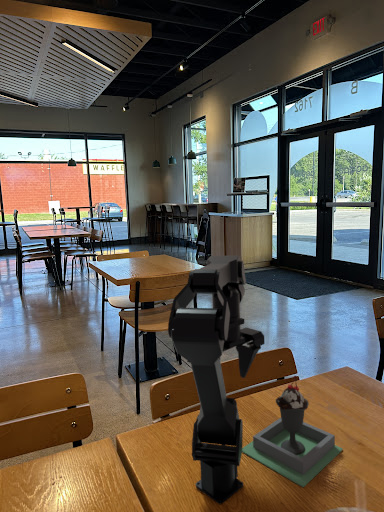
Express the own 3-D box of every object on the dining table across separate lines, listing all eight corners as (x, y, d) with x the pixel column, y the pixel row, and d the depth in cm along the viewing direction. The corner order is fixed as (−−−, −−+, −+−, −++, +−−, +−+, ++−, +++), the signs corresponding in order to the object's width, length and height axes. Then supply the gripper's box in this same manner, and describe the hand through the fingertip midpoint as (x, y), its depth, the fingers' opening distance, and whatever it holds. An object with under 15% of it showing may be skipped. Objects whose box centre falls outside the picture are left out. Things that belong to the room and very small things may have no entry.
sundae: (305, 437, 83) (304, 372, 81) (312, 457, 76) (311, 386, 75) (274, 437, 84) (273, 372, 82) (279, 457, 77) (277, 386, 75)
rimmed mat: (303, 487, 69) (303, 473, 69) (240, 451, 80) (239, 438, 80) (342, 449, 79) (342, 437, 78) (281, 422, 90) (281, 410, 90)
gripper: (228, 300, 92) (230, 361, 94) (168, 317, 80) (172, 387, 82) (265, 307, 84) (266, 374, 86) (204, 328, 72) (208, 405, 74)
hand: (228, 384), depth 82 cm, fingers open, 9 cm apart
